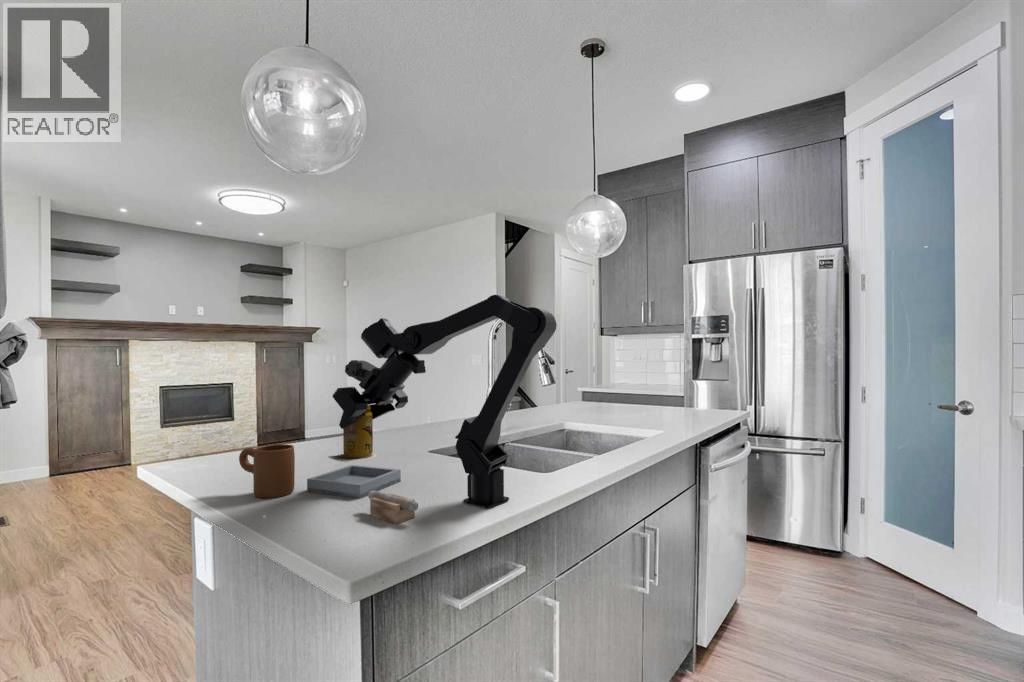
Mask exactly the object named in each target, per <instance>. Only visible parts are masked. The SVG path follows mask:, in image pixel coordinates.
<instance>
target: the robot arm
mask: <svg viewBox="0 0 1024 682" xmlns="http://www.w3.org/2000/svg"><path fill="white" fill-rule="evenodd" d="M498 319H500V320H501V321H503V322H504V323H506V324H507V325H510V326H512V327H513V330H512V333H511V345H510V349H509V352H508V354H507V356H506V359H505V361H504V362H503V364H502V367H501V369H500V370H499V372H498V375H497V377H496V379H495V381H494V383H493V384H492V387H491V389H490V391H489V393H488V396H487V397H486V399H485V401H484V404H483V405H482V408H481V410H480V411H479V413H478V415H477V416H476V415H475V416H473V417H469V418H465V419H463V422H462V424H461V427H460V429H459V432H458V434H456V436H455V437H454V438H455V439H457V440H456V443H455V450H456V453H457V455H458V456H457V457H459V459H460V460H461V463H462V466H463V469H464V472H465V474H468V475H467V481H466V482H467V498H464V499H463V500H462V503H464V504H469V505H473V506H477V507H481V508H485V509H491V508H492V507H493V508H494V507H496V506H498V505H500V504H502V503H505V502H507V501H510V497H509V496H505V482H504V481H505V477H504V475H505V473H504V472H505V469H502V467H505V466H506V465H507V461H508V459H509V455H508V454H507V452H506V451H505V450H504V449H503V448H502V447H501V446H500V444H499V440H500V438H501V427H502V426H501V425H502V421H503V419H504V417H505V415H506V413H507V411H508V409H509V407H510V405H511V403H512V401H513V399H514V397H515V395H516V393H517V391H518V389H519V388H520V384H521V383H522V380H523V379H524V377H525V375H526V373H527V371H528V369H529V367H530V365H531V363H532V361H533V359H534V358H535V356H537V354H538V353H540V352H541V350H542V349H543V348H544V347H545V346H546V345H547V344H548V342H549V341H550V340H551V338H552V337H553V336H554V334H555V332H556V331H557V327H558V325H557V321H556V317H555V316H554V315H553V313H552V312H550V311H549V310H546V309H542V308H539V307H535V306H533V307H531V306H530V307H528V306H524V305H522V304H520V303H517V302H515V301H512V300H510V299H509V298H508V297H506V296H502V295H498V294H493V295H490V296H488V297H487V298H486V299H484V300H482V301H480V302H477V303H474V304H473V305H470V306H468V307H466V308H464V309H462V310H459V311H458V312H455V313H453V314H450V315H448V316H447V317H444V318H441V319H440V320H435V321H431V322H424V323H419V324H414V325H410V326H407V327H405V328H404V330H403V331H402V332H399V331H397V330H396V329H395V328H394V327H393V325H392V324H391V322H390V321H389V319H388V318H382V317H381V318H379V320H377V321H376V322H373V323H372V324H370V325H369V326H368V327H365V328H364V329H363V331H362V332H361V334H360V339H361V340H362V341H363V342H364V344H365V345H366V346H367V347H368V349H370V350H369V351H371V353H373V354H374V356H375V357H376V358H378V359H386V360H385V361H384V363H382V365H381V366H380V367H377V366H376V365H374V364H372V363H370V362H369V361H366V360H357V359H353V360H350V361H348V363H347V364H345V369H344V372H345V374H346V375H347V376H348V377H351V378H353V379H355V380H357V381H358V382H359V384H358V386H359V387H360V388H361V389H363V391H362V392H361V393H360V392H359V391H358V389H357V388H356V387H355V386H346V387H345V386H343V387H338V388H336V390H335V391H334V392H333V394H332V398H333V399H334V401H335V402H336V403H337V404H338V405H337V406H339V407H340V408H341V410H342V415H341V418H340V420H339V423H338V425H339V427H340V429H342V430H343V428H345V427H347V426H349V425H351V424H352V423H354V422H356V421H357V420H359V419H361V418H363V417H364V416H366V414H365V413H364V412H365V411H366V410H367V407H368V405H370V408H371V410H370V411H371V413H372V417H373V420H375V419H378V418H380V417H382V416H384V415H386V414H389V413H391V412H393V411H395V410H396V409H402V408H404V407H405V406H406V405H407V403H409V398H408V397H409V396H408V395H407V394H406V392H405V391H404V390H403V389H405V387H406V385H405V384H404V383H405V382H406V381H407V380H408V378H409V377H410V376H411V375H412V374H413V373H414V374H417V375H418V374H425V373H426V372H427V371H426V365H425V364H426V363H425V359H422V360H421V359H419V358H418V357H417V355H431V354H434V353H436V352H437V351H439V350H440V349H441V348H443V347H444V346H446V344H447V343H448V342H449V341H451V340H452V339H453V338H456V337H459V336H460V335H462V334H464V333H467V332H469V331H472V330H474V329H476V328H479V327H481V326H483V325H486V324H487V323H490V322H493V321H495V320H498ZM394 400H395V401H396V403H395V404H394V405H393V403H394ZM490 507H491V508H490Z"/></svg>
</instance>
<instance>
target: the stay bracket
mask: <svg viewBox="0 0 1024 682" xmlns="http://www.w3.org/2000/svg"><path fill="white" fill-rule="evenodd" d="M367 497H368V499H370V503H369V505H370V506H369V508H370V511H369V513H370V517H374V518H377V519H380V520H383V521H386V522H390V523H392V524H396V525H397V524H400V523H402V522H405V521H408V520H412V519H414V518H415V512H416V511H418V509H419V503H418V502H417V501H415V499H412V498H409V497H404V496H400V495H396V494H393V493H391V492H390V493H385V492H382V491H373V490H372V491H370V492H369V494H368V495H367Z"/></svg>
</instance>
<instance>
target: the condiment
mask: <svg viewBox="0 0 1024 682" xmlns="http://www.w3.org/2000/svg"><path fill="white" fill-rule="evenodd" d="M370 410H371V408H370V405H368V407H367V410H366V411H365V412H364V413H365V414H366V416H364V417H363V418H361V419H359V420H357V421H356V422H354V423H352V424H351V425H349V426H347V427H345V428H343V429H342V430H343V431H342V432H343V438H342V439H343V440H342V441H343V446H342V447H343V453H341V454H337V455H330V456H328V458H329V459H331V460H334V461H337V462H342V463H343V462H344V463H348V462H353V461H357V460H364V459H370V458H375V457H379V456H381V454H378V453H373V451H374V450H373V449H374V447H373V446H374V441H373V439H374V436H373V435H374V434H373V433H374V432H373V428H374V427H373V425H374V424H373V420H374V419H373V417H372V413H371V411H370Z"/></svg>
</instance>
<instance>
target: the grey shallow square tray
mask: <svg viewBox="0 0 1024 682" xmlns="http://www.w3.org/2000/svg"><path fill="white" fill-rule="evenodd" d="M401 472H402V470H401V469H397V468H388V467H377V466H370V465H367V466H366V465H361V464H359V465H358V464H349V465H346V466H344V467H340V468H337V469H334V470H330V471H327V472H324V473H322V474H319V475H315V476H311V477H308V478H306V486H307V487H306V490H307V491H312V492H311V493H315V492H321V493H320V494H323V493H326V494H325V495H330V494H332V496H338V495H339V496H340V497H346V498H353V499H355V498H356V499H362V498H364V497H368V494H369V492H370V491H372V490H373V491H378V492H380V491H381V490H384V489H386V488H387V487H390V486H394V485H395V484H398V483H399V482H401V481H402V480H401V479H402V477H401V476H402V474H401Z"/></svg>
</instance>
